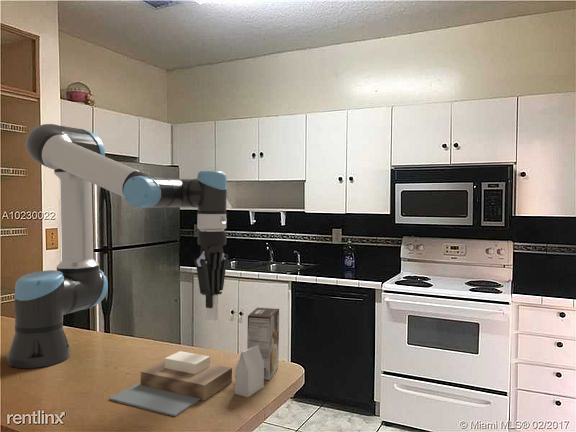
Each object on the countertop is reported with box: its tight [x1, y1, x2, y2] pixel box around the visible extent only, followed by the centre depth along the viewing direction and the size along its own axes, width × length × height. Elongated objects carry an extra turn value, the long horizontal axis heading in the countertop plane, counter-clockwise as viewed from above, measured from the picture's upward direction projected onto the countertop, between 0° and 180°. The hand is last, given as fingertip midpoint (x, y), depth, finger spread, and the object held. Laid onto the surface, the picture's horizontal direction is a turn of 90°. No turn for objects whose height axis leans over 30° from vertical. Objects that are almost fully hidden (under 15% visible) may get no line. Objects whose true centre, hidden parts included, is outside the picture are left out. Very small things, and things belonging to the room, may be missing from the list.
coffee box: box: [246, 307, 280, 381], centre depth 122 cm, size 9×6×16 cm
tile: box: [164, 350, 211, 374], centre depth 116 cm, size 9×6×2 cm, turn 66°
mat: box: [108, 383, 201, 417], centre depth 105 cm, size 18×9×1 cm, turn 66°
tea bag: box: [234, 345, 265, 398], centre depth 111 cm, size 4×7×10 cm, turn 151°
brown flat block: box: [140, 359, 233, 402], centre depth 114 cm, size 18×12×4 cm, turn 66°
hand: (211, 319), depth 124 cm, fingers closed
